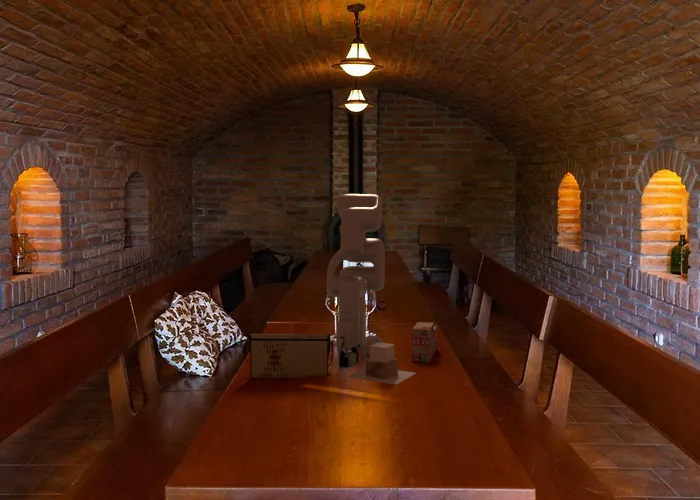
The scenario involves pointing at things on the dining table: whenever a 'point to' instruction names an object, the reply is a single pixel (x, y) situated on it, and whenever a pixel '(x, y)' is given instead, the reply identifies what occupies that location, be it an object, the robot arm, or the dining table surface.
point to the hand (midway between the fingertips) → (348, 365)
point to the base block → (381, 369)
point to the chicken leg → (370, 343)
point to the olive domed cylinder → (351, 358)
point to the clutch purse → (288, 355)
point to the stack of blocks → (424, 341)
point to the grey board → (393, 380)
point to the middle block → (382, 352)
